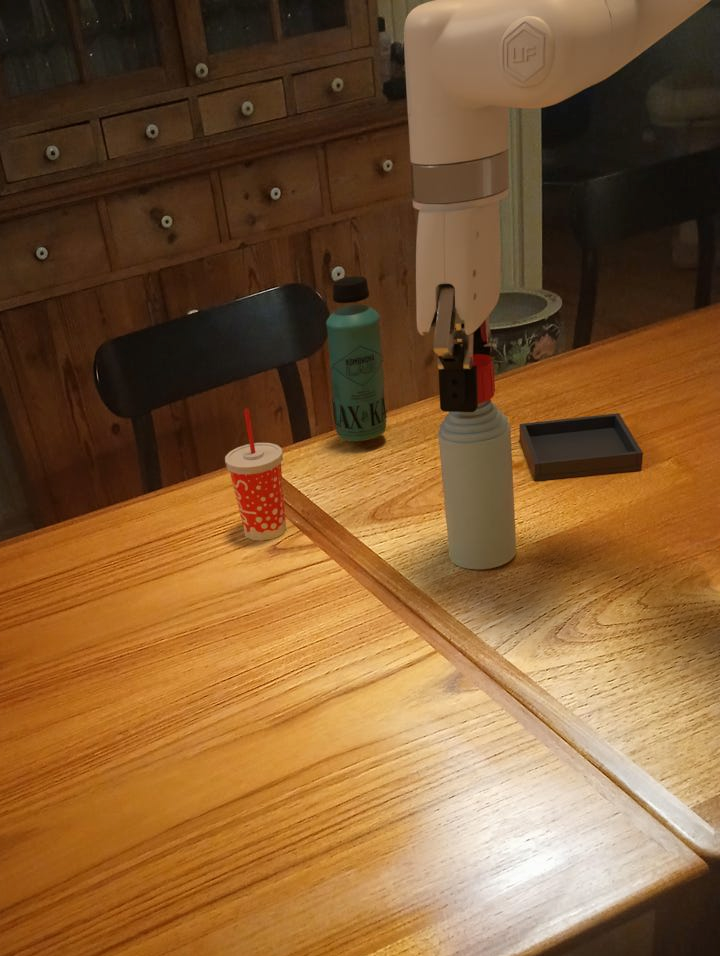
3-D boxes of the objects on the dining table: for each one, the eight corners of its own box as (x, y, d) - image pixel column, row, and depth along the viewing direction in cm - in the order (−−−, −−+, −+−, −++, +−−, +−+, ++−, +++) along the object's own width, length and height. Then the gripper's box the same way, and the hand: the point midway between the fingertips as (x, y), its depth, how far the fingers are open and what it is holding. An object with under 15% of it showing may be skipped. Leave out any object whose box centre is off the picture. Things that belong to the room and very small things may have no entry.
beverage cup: (232, 525, 110) (211, 406, 102) (285, 512, 110) (268, 393, 103) (244, 549, 105) (223, 425, 97) (299, 535, 105) (282, 412, 98)
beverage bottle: (327, 442, 125) (309, 281, 114) (373, 427, 127) (360, 267, 116) (352, 458, 120) (336, 291, 109) (399, 442, 121) (388, 276, 110)
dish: (618, 429, 115) (619, 412, 114) (641, 470, 106) (643, 452, 104) (519, 440, 117) (519, 423, 115) (534, 481, 107) (534, 463, 106)
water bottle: (510, 533, 99) (501, 352, 89) (521, 564, 93) (512, 376, 83) (446, 542, 100) (429, 364, 90) (453, 573, 94) (436, 388, 84)
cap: (498, 387, 88) (496, 352, 87) (489, 404, 86) (487, 369, 84) (454, 389, 90) (451, 355, 88) (444, 406, 87) (441, 371, 85)
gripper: (443, 162, 86) (451, 366, 96) (379, 209, 74) (396, 437, 84) (531, 154, 82) (529, 367, 92) (479, 202, 71) (484, 440, 81)
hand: (466, 398), depth 88 cm, fingers closed on cap, 4 cm apart
